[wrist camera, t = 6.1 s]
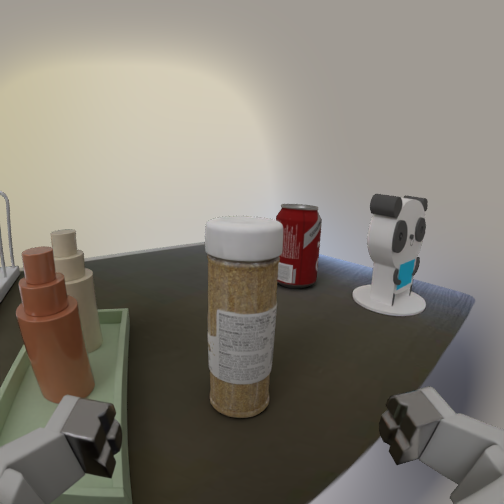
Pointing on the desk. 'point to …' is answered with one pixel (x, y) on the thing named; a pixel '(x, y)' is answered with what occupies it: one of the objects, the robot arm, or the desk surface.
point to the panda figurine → (394, 255)
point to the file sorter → (4, 276)
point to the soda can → (299, 245)
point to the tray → (106, 390)
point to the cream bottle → (78, 284)
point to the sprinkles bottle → (241, 310)
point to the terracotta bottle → (52, 329)
